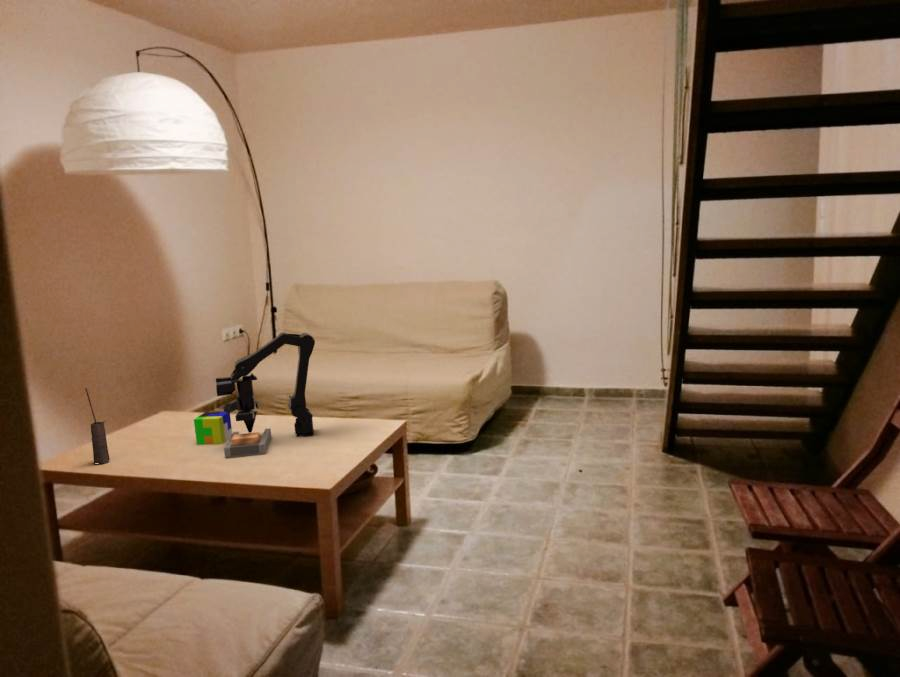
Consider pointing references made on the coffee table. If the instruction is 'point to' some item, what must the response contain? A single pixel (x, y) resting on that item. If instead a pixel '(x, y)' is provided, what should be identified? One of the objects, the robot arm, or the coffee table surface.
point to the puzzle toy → (213, 428)
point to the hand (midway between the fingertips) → (250, 432)
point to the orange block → (245, 439)
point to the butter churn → (98, 439)
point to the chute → (248, 446)
